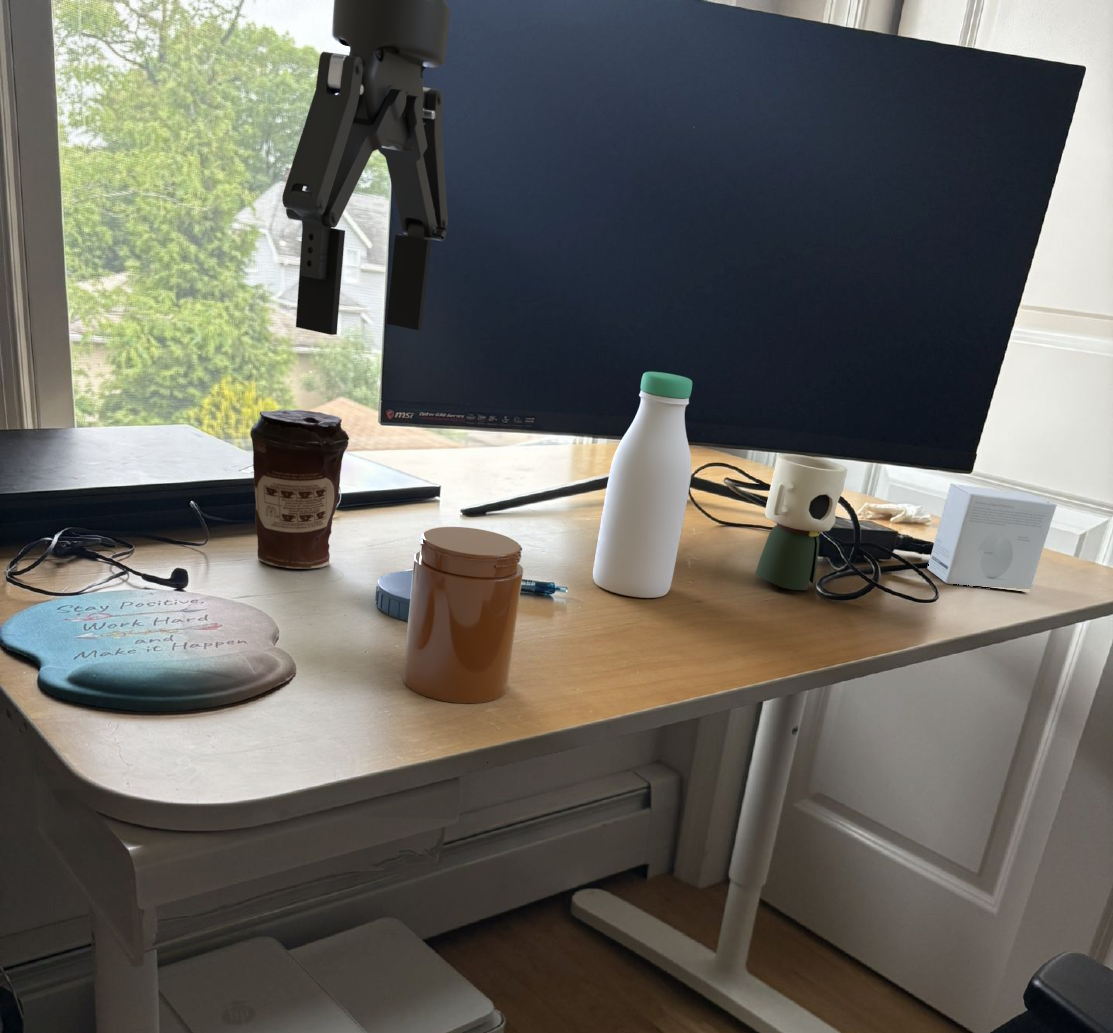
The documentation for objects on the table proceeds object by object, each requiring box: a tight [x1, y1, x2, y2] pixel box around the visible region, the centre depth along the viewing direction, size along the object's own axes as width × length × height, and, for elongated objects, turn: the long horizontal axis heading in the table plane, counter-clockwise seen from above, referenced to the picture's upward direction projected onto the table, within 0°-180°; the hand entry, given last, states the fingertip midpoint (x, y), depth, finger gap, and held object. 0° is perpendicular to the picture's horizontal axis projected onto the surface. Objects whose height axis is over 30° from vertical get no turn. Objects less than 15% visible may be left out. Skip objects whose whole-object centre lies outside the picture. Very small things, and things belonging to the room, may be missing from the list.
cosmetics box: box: [927, 483, 1057, 590], centre depth 131 cm, size 10×6×10 cm, turn 94°
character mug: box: [754, 453, 848, 591], centre depth 117 cm, size 11×7×13 cm, turn 138°
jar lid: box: [374, 570, 413, 622], centre depth 96 cm, size 8×8×2 cm
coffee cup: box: [249, 409, 350, 570], centre depth 100 cm, size 9×8×13 cm
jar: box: [402, 526, 524, 704], centre depth 80 cm, size 8×8×11 cm
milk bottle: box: [592, 371, 693, 599], centre depth 107 cm, size 8×8×20 cm
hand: (363, 329), depth 83 cm, fingers open, 13 cm apart
